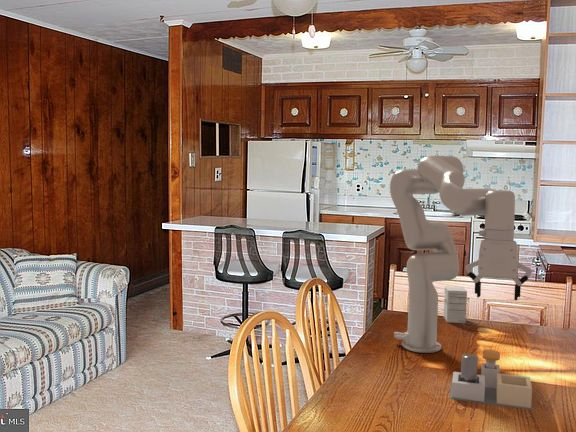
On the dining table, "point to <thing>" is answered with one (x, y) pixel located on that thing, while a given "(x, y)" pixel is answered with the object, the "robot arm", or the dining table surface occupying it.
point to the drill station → (494, 389)
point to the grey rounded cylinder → (469, 368)
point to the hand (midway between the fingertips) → (497, 298)
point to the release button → (491, 358)
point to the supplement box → (455, 304)
